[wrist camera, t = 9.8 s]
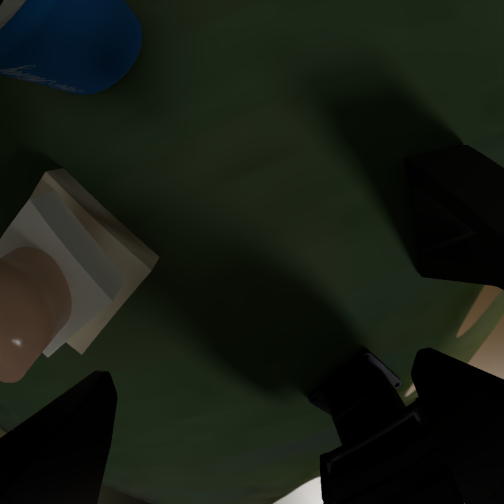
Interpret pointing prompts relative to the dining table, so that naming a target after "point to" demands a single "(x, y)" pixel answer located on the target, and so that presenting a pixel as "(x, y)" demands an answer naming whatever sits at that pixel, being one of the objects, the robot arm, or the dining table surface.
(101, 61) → the beverage can
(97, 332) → the tower base
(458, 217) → the phone stand
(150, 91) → the dining table surface
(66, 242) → the tower top
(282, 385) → the dining table surface
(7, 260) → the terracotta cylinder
